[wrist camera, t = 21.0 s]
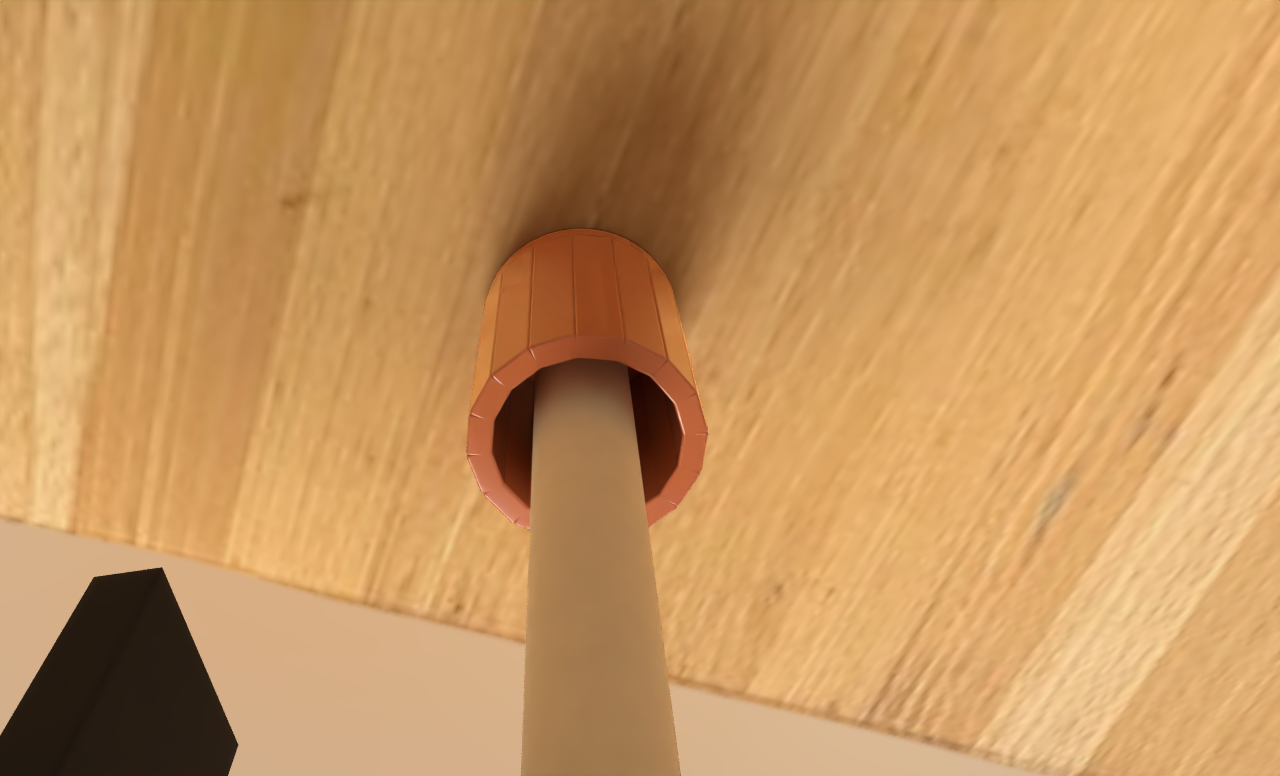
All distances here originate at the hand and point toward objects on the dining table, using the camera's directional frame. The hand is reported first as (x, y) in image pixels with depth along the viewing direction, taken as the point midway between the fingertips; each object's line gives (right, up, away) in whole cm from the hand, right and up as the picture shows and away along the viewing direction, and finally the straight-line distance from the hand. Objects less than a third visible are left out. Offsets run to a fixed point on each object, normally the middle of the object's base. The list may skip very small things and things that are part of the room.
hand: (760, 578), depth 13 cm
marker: (-3, +4, +14) cm, 14 cm away
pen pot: (-3, +4, +14) cm, 15 cm away
